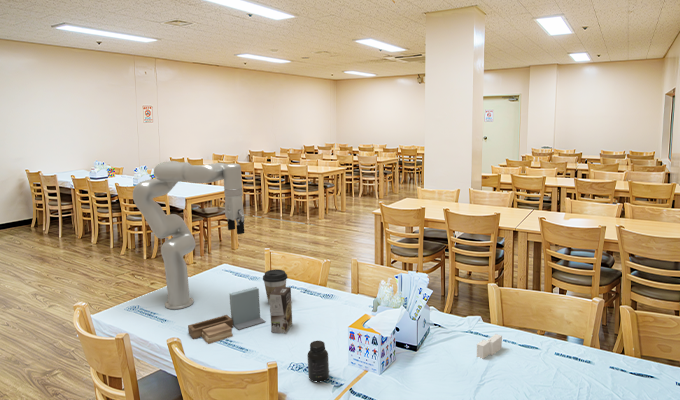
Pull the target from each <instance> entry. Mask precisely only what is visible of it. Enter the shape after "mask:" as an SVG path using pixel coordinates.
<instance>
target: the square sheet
mask: <svg viewBox="0 0 680 400" xmlns="http://www.w3.org/2000/svg"><path fill="white" fill-rule="evenodd" d="M228 294H229V304H230V305H229V307H230V308H229V309H230V318H231V319H232V320H233V325H236V324H239V323H243V322H246V321H250V320H253V319H257V318H260V317H261V304H260V290H259V287H257V286H255V287H251V288H247V289H242V290H239V291H234V292H231V293H230V292H229V293H228Z"/></svg>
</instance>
